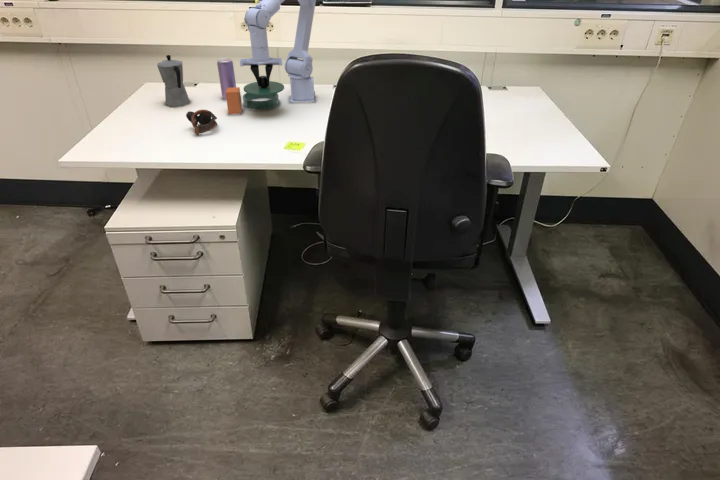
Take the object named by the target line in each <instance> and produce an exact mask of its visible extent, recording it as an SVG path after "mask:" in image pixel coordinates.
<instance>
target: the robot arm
mask: <svg viewBox="0 0 720 480" xmlns="http://www.w3.org/2000/svg"><path fill="white" fill-rule="evenodd" d="M285 1H286V0H260V2H259V3H256V5H255V6H254V7H250V8H248V9H247V10H246V12H245V14H244V17H243V21H244V23H245V25H246V27H247V30H248V32H249V39H250V47H251V58H240V59H239V66H240V67H244V66H246V67H249V66H250V68H249V69H250V71H251V72H252V75H253V76H254V79H255V80H256V82H257V83H258V87H260V76H261V75H260V66H265V67H264V69H265V76H266V78H267V87H268V86H269V81H270V78H271V74H272V71H273V69H274V68H273V67H274V66H283V58H282V57H281V58H277V57H270V51H269V42H268V32H267V27H268V26H269V25H270V21H271V19H272V17H273V16H275V14H277V13H278V12H279V11H280V9H281V4H282V3H283V2H285ZM297 2H298V4H299V12H298V19H297V26H296V32H295V36H294V37H295V38H294V44H293V49H292V50H290V51H289V52H288V53H287V57H286V60H285V62H284V71H285V73H286V74H287V76H288V77H289V84H290V85H289V86H290V97H289V102H290V103H294V102H297V103H299V102H315V96H316V91H315V83H314V80H315V79H314V76H311V75H312V73H313V68H314V67H313V59H314V58H313V57H312V55H310V53H309V46H310V41H311V33H312V27H313V23H314V22H313V21H314V16H315V9H316V2H317V0H297Z"/></svg>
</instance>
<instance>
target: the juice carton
mask: <svg viewBox="0 0 720 480" xmlns="http://www.w3.org/2000/svg"><path fill="white" fill-rule="evenodd" d="M225 93H226V99H225V100H226V105H227V113H228V115H232V114H233V115H235V114H236V115H237V114H240V115H241V114H242V110H243V104H242V103H243V101H242V96H241V87H239V86H236V87H229V88H227V90H226V92H225Z"/></svg>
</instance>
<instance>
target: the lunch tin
mask: <svg viewBox="0 0 720 480" xmlns="http://www.w3.org/2000/svg"><path fill="white" fill-rule="evenodd" d="M279 98H280V96H279V93H275V94H270V95H253V94H249V93H246V92H245V93H244V94H243V95H242V103H243V106H244V107H245V108H247V109H250V110H266V109H271V108H275V107H276V106H278V105H279V104H280V99H279ZM257 99H265V100H257Z"/></svg>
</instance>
